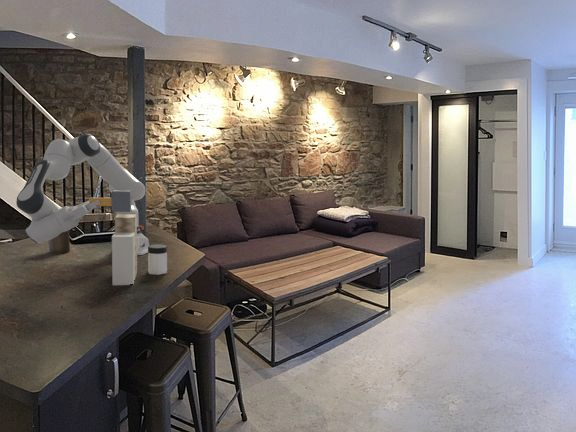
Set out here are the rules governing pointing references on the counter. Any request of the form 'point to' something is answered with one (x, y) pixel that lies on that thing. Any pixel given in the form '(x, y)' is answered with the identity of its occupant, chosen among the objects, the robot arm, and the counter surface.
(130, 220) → the tall pedestal
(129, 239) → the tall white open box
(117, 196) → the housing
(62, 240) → the pillar candle
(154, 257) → the jar
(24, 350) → the counter surface
